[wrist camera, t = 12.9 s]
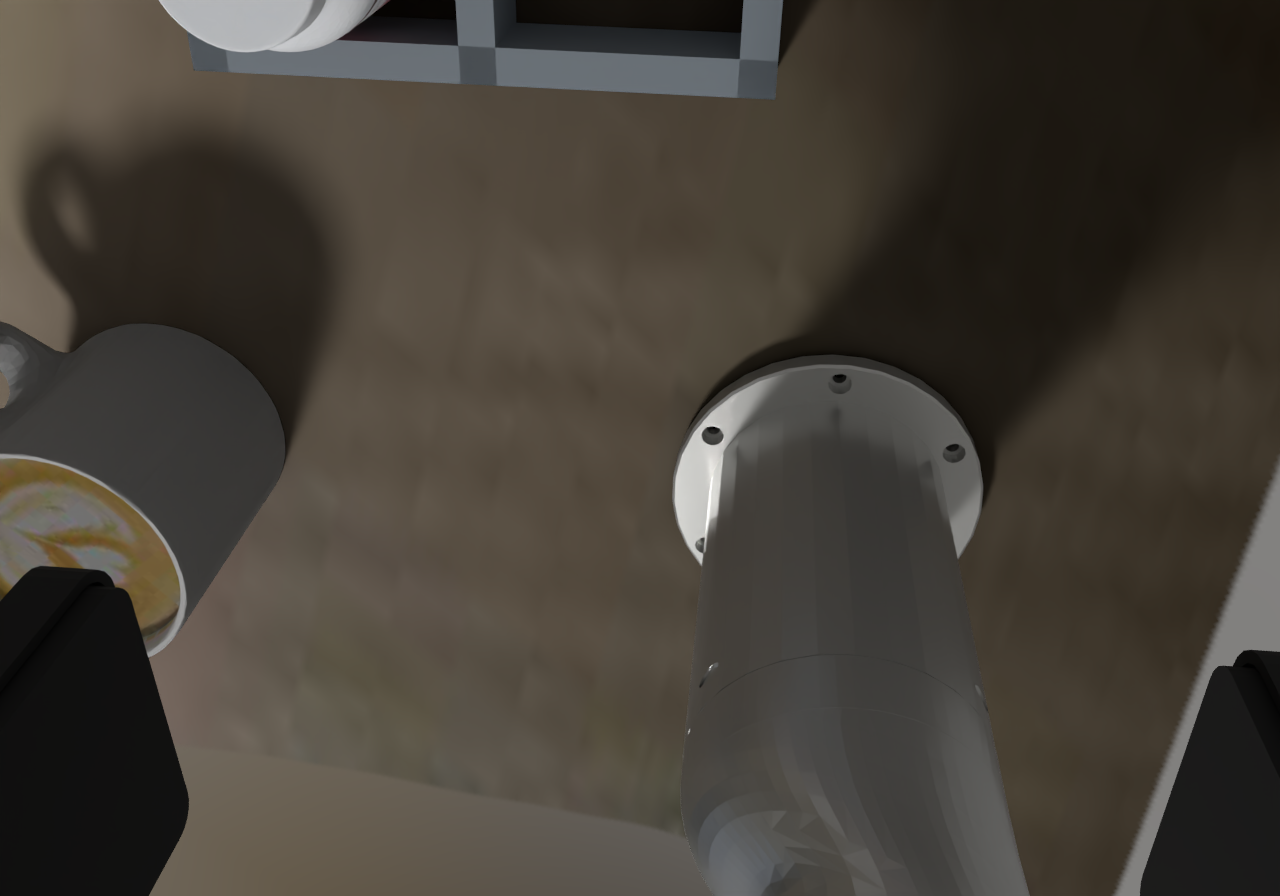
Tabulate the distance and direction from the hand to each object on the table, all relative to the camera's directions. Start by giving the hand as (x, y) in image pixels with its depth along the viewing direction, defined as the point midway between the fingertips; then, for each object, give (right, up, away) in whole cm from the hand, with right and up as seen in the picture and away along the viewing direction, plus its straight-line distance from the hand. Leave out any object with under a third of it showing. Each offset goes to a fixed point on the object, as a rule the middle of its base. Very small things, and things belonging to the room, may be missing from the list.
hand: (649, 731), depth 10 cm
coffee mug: (-21, +5, +40) cm, 46 cm away
